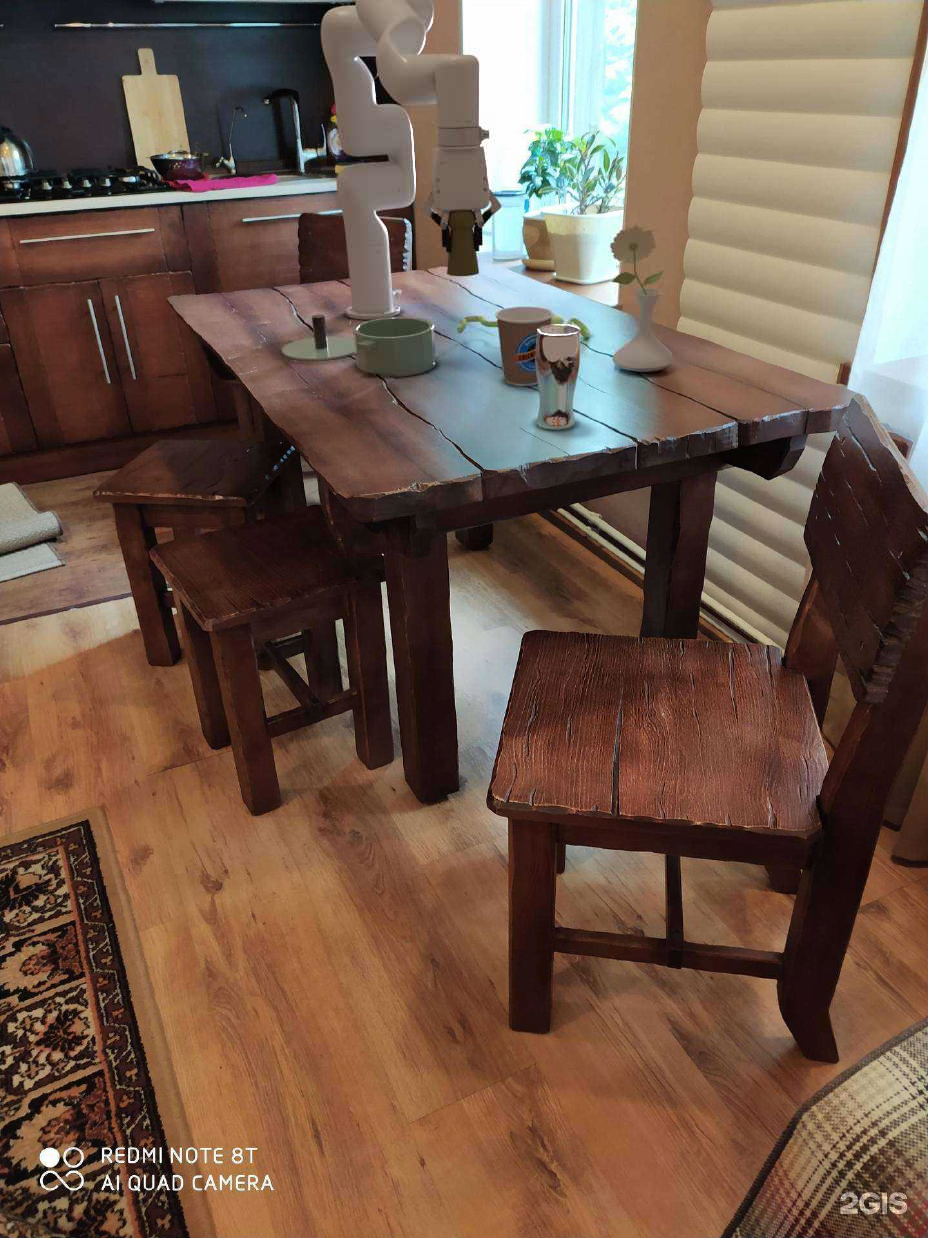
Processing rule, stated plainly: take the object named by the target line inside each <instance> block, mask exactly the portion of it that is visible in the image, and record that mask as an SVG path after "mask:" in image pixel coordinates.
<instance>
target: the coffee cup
mask: <svg viewBox="0 0 928 1238" xmlns="http://www.w3.org/2000/svg"><path fill="white" fill-rule="evenodd" d="M554 314H555V313H554V312H553V311H552V310H550V309H547V308H544V307H539V306H514V307H507V308H504V309H503V308H502V309H500V310H498V311H497V312H495V315H494V316H495V318H496V321H497V323H498V327H497V331H498V339H499V348H500V354H501V363H502V374H503V375H504V376H503V377H504V380H505V383H507V384H509V385H511V386H517V387H530V386H536V385H538V382H537V376H536V367H535V350H536V339H537V329H538V328H540V327H542V326H546V325H551V318H552V317H553V315H554Z"/></svg>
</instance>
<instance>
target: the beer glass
mask: <svg viewBox="0 0 928 1238" xmlns="http://www.w3.org/2000/svg"><path fill="white" fill-rule="evenodd" d="M580 330H581V329H580V328H579V327H578V326H576V325H573V324H572V325H567V324H564V323H563V324H554V325H546V326H542V327H540V328H538V329H537V339H536V350H535V367H536V376H537V382H538V384H537V388H538V395H539V408H538V412H537V413H538V414H537V418H536V424H537V425H538V427H539V428H541V429H544V430H549V431H562V430H563V431H564V430H567V429H571V428H572V427H573V426H574V425H575V423H576V422H575V421H576V420H575V415H574V414H575V413H574V395H575V389H576V387H577V383H578V382H577V381H578V376H579V370H580V361H581V336H580V335H581V334H580Z"/></svg>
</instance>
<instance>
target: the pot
mask: <svg viewBox="0 0 928 1238" xmlns="http://www.w3.org/2000/svg"><path fill="white" fill-rule="evenodd" d="M352 333H353V339H354V346H355V354H354V355H355V365H356V367H357V369H358V370H361V371H363V372H365V373H370V374H377V375H391V376H389V378H401V377H402V378H403V377H409V376H410V377H411V376H414V375H419V374H422V373H425V372H428V371H430V370H432V369H433V368H434V367H435V365H436V342H435V341H436V340H435V325H434V324H433V323H432V322H431V321H429V320H428V318H421V317H417V318H416V317H408V316H407V317H406V316H401V317H400V316H398V317H397V316H393V317H389V318H381V319H374V320H365V321H364V322H361V323H359V324H356V325H355V326H354V327H353V329H352Z"/></svg>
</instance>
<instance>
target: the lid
mask: <svg viewBox="0 0 928 1238" xmlns="http://www.w3.org/2000/svg"><path fill="white" fill-rule="evenodd" d="M311 322H312V323H311V324H312V331H313V337H309V338H303V339H302V338H301V339H298V340H295V341H291V342H289V343H288V344H285V345H284V346H283V347H282V348H281V354H282V356H284V357H285V358H288V359H291V360H296V361H302V362H319V361H320V362H323V361H331V360H333V361H334V360H338V359H343V358H347V357H350V356H353V355H355V346H354V338H350V337H346V336H345V337H343V336H328V334H327V333H328V332H327V325H326V324H327V323H326V317H325V315H324V314H314V315H312V316H311Z"/></svg>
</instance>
